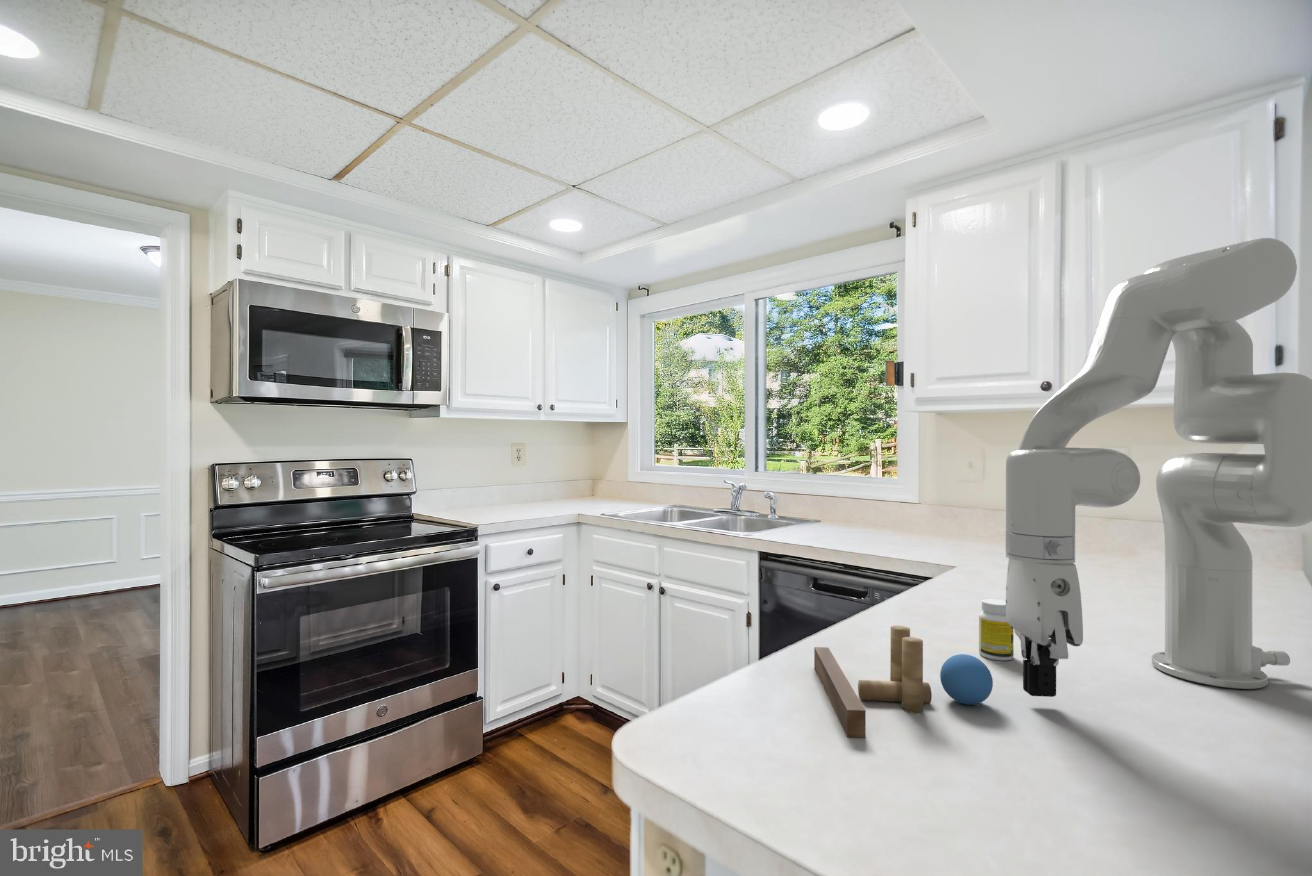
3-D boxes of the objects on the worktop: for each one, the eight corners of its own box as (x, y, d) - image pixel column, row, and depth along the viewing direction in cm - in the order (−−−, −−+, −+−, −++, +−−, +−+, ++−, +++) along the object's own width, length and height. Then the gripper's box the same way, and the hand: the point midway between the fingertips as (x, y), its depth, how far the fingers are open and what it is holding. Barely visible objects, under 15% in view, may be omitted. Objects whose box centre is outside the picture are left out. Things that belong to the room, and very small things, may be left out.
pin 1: (906, 689, 85) (906, 625, 85) (912, 696, 83) (912, 631, 83) (888, 689, 85) (888, 625, 85) (893, 696, 83) (893, 630, 83)
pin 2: (919, 705, 80) (919, 637, 80) (925, 713, 78) (925, 643, 78) (899, 704, 80) (899, 636, 80) (905, 712, 78) (905, 642, 78)
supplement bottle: (1018, 662, 96) (1018, 606, 96) (984, 660, 97) (984, 604, 97) (1007, 652, 101) (1007, 598, 101) (975, 650, 102) (975, 597, 102)
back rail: (828, 668, 93) (828, 647, 93) (865, 737, 71) (865, 710, 71) (814, 667, 93) (814, 647, 93) (847, 736, 71) (847, 709, 71)
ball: (925, 660, 84) (946, 701, 84) (941, 676, 78) (965, 721, 78) (966, 640, 84) (988, 681, 83) (986, 655, 78) (1010, 699, 77)
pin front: (925, 680, 82) (857, 677, 83) (931, 685, 80) (862, 683, 81) (925, 699, 82) (858, 696, 83) (931, 705, 80) (862, 702, 81)
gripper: (1108, 559, 72) (1108, 721, 72) (1039, 539, 87) (1039, 673, 87) (1039, 557, 73) (1039, 718, 73) (983, 538, 88) (982, 671, 88)
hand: (1039, 693), depth 80 cm, fingers closed
